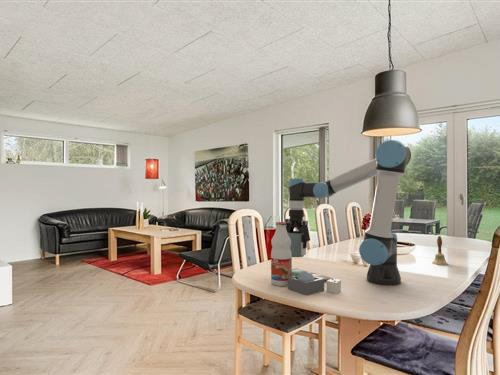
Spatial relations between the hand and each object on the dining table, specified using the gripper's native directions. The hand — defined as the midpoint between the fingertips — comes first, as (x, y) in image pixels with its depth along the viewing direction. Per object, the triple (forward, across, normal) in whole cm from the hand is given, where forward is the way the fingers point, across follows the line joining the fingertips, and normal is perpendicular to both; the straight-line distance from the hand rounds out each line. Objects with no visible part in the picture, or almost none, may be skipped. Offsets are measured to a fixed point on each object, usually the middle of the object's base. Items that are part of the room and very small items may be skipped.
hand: (295, 253), depth 175 cm
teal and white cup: (+1, 0, 0) cm, 1 cm away
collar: (+11, -21, +15) cm, 28 cm away
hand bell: (+11, -32, -85) cm, 92 cm away
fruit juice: (+11, -8, +17) cm, 22 cm away
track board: (+11, -6, 0) cm, 12 cm away
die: (+11, -30, +7) cm, 32 cm away
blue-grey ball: (+10, -21, +15) cm, 28 cm away
